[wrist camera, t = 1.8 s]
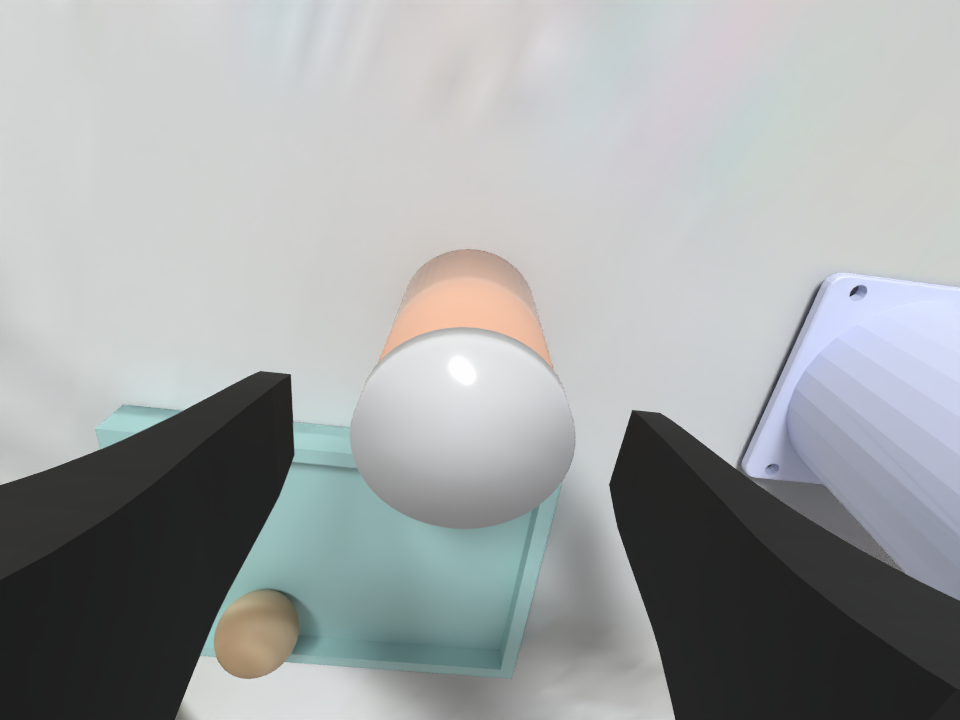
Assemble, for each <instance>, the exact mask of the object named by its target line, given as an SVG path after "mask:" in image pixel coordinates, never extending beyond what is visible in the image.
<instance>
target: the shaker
mask: <svg viewBox="0 0 960 720" xmlns="http://www.w3.org/2000/svg"><path fill="white" fill-rule="evenodd" d="M350 442H351V450H352V454H353V458H354V461H355V463H356V466H357V468H358V471H359V472H360V474H361V476H362V478H363V479H364V481H365V482H366V483H367V485H368V486H369V487H370V489H371V490H372V491H373V492H374V493H375V494H376V495H377V496H378V497H379V498H380V499H381V500H383V501H384V502H385V503H386V504H388V505H389V506H390V507H392V508H393V509H395V510H397V511H398V512H400V513H402V514H404V515H406V516H408V517H410V518H412V519H415V520H417V521H420V522H423V523H426V524H430V525H434V526H438V527H445V528H455V529H473V528H483V527H489V526H494V525H498V524H502V523H505V522H508V521H511V520H513V519H516V518H518V517H520V516H522V515H524V514H526V513H528V512H530V511H531V510H533V509H534V508H536V507H537V506H539V505H540V504H541V503H542V502H544V501H545V500H546V499H547V498H548V497H549V496H550V495H551V494H552V493H553V492H554V491H555V490H556V489H557V488H558V486H559V485H560V483H561V482H562V481H563V479H564V477H565V475H566V473H567V472H568V470H569V467H570V464H571V462H572V459H573V455H574V449H575V427H574V420H573V417H572V414H571V410H570V407H569V404H568V400H567V397H566V394H565V391H564V388H563V386H562V384H561V382H560V380H559V378H558V376H557V375H556V373H555V372H554V369H553V365H552V362H551V358H550V355H549V351H548V348H547V344H546V341H545V337H544V334H543V330H542V327H541V323H540V320H539V316H538V313H537V309H536V306H535V302H534V299H533V296H532V292H531V290H530V287H529V285H528V283H527V282H526V280H525V279H524V277H523V276H522V274H521V273H520V272H519V271H518V270H517V269H516V268H515V267H514V266H513V265H512V264H510V263H509V262H507V261H506V260H504V259H503V258H501V257H499V256H497V255H495V254H492V253H489V252H485V251H480V250H470V249H466V250H456V251H451V252H448V253H445V254H442V255H440V256H438V257H436V258H434V259H432V260H430V261H429V262H428V263H426V264H425V265H424V266H423V267H422V268H420V269H419V270H418V272H417V273H416V274H415V275H414V276H413V278H412V280H411V281H410V283H409V285H408V287H407V289H406V292H405V294H404V297H403V299H402V302H401V305H400V307H399V310H398V312H397V315H396V318H395V320H394V323H393V325H392V328H391V331H390V333H389V336H388V338H387V341H386V344H385V346H384V349H383V351H382V354H381V357H380V359H379V362H378V364H377V365H376V366H375V368H374V369H373V371H372V372H371V374H370V375H369V377H368V378H367V381H366V383H365V385H364V388H363V390H362V392H361V395H360V397H359V400H358V402H357V405H356V407H355V410H354V413H353V417H352V421H351V429H350Z"/></svg>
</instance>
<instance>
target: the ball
mask: <svg viewBox="0 0 960 720" xmlns="http://www.w3.org/2000/svg"><path fill="white" fill-rule="evenodd" d="M299 627H300V625H299V616H298V613H297V610H296V608H295V606H294V604H293V603H292V602H291V600H290V599H289V598H288V597H286V596H285V595H284V594H282V593H280V592H277V591H274V590H268V589H263V590H255V591H252V592H249V593H246V594H245V595H243V596H241V597H239V598H238V599H237V600H235V601H234V602H233V603H232V604H231V605H230V606H229V607H228V608H227V609H226V610H225V612H224V613H223V615H222V616H221V618H220V620H219V622H218V624H217V627H216V630H215V635H214V650H215V654H216V657H217V660H218V662H219V663H220V665H221V666H222V667H223V668H224V669H225V670H226V671H227V672H228V673H230V674H232V675H234V676H236V677H239V678H245V679H251V678H258V677H261V676H264V675H267V674H269V673H271V672H273V671H274V670H276V669H277V668H278V667H280V666H281V665H282V664H283V663H284V662H285V661H286V659H287V658H288V657H289V656H290V654H291V653H292V651H293V649H294V647H295V645H296V642H297V639H298V635H299Z"/></svg>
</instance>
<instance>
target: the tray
mask: <svg viewBox="0 0 960 720" xmlns="http://www.w3.org/2000/svg"><path fill="white" fill-rule="evenodd" d="M180 412H182V411H179V410H170V409H160V408H150V407H140V406H130V405H122V406H121V407H120V408H119V409H118V410H116V411H115V412H114V413H113V414H112V415H110V416H109V417H108V418H107V419H106V420H105V421H103V422H102V423H101V424H100V425H99V426H97V427H96V428H95V430H96V434H97V438H98V442H99V446H100V449H103V448H105V447H107V446H110V445H112V444H114V443H117V442H119V441H121V440H124V439H126V438H128V437H130V436H132V435H134V434H136V433H138V432H140V431H143V430H145V429H147V428H149V427H151V426H153V425H155V424H157V423H159V422H161V421H164V420H166V419H168V418H170V417H172V416H174V415H176V414H178V413H180ZM350 429H351V428H347V427H337V426H327V425H317V424H307V423H297V422H293V432H294V453H295V455H294V458H293V461H292V463H291V466H290V469H289V472H288V475H287V478H286V480H285V483H284V485H283V488H282V491H281V493H280V496H279V498H278V500H277V502H276V504H275V506H274V508H273V509H272V511H271V513H270V515H269V517H268V519H267V521H266V523H265V525H264V527H263V528H262V530H261V532H260V534H259V536H258V538H257V540H256V541H255V543H254V545H253V547H252V549H251V551H250V553H249V554H248V556H247V558H246V560H245V562H244V564H243V566H242V567H241V569H240V571H239V573H238V575H237V577H236V579H235V580H234V582H233V584H232V586H231V588H230V590H229V592H228V593H227V596H226V598H225V600H224V602H223V604H222V606H221V608H220V610H219V612H218V614H217V616H216V618H215V621H214V623H213V626H212V628H211V630H210V633H209V635H208V638H207V640H206V642H205V645H204V647H203V650H202V652H201V655H200V656H209V657H216V654H215V650H214V635H215V630H216V627H217V624H218V622H219V620H220V618H221V616H222V615H223V613H224V612H225V610H226V609H227V608H228V607H229V606H230V605H231V604H232V603H233V602H234V601H235V600H237V599H238V598H239V597H241V596H243V595H245V594H246V593H249V592H252V591H255V590H263V589H268V590H274V591H277V592H280V593H282V594H284V595H285V596H286V597H288V598H289V599H290V600H291V602H292V603H293V604H294V606H295V608H296V610H297V613H298V616H299V625H300V627H299V635H298V639H297V642H296V645H295V647H294V649H293V651H292V653H291V654H290V656H289V657H288V658H287V659H286V661H285V662H291V663H304V664H318V665H332V666H345V667H359V668H372V669H386V670H400V671H413V672H427V673H440V674H454V675H468V676H481V677H495V678H509V679H512V676H513V672H514V668H515V664H516V660H517V656H518V652H519V648H520V644H521V640H522V636H523V633H524V629H525V625H526V621H527V617H528V613H529V609H530V605H531V601H532V597H533V593H534V590H535V586H536V582H537V578H538V574H539V570H540V566H541V562H542V558H543V554H544V550H545V547H546V543H547V539H548V535H549V531H550V527H551V523H552V519H553V515H554V511H555V507H556V503H557V500H558V496H559V492H560V488H561V484H562V482H561V483H560V485H559V486H558V488H557V489H556V490H555V491H554V492H553V493H552V494H551V495H550V496H549V497H548V498H547V499H546V500H545V501H544V502H542V503H541V504H540V505H539V506H537V507H536V508H534V509H533V510H531V511H530V512H528V513H526V514H524V515H522V516H520V517H518V518H516V519H513V520H511V521H508V522H505V523H502V524H498V525H494V526H489V527H483V528H473V529H455V528H445V527H438V526H434V525H430V524H426V523H423V522H420V521H417V520H415V519H412V518H410V517H408V516H406V515H404V514H402V513H400V512H398V511H397V510H395V509H393V508H392V507H390V506H389V505H388V504H386V503H385V502H384V501H383V500H381V499H380V498H379V497H378V496H377V495H376V494H375V493H374V492H373V491H372V490H371V489H370V487H369V486H368V485H367V483H366V482H365V481H364V479H363V478H362V476H361V474H360V472H359V471H358V468H357V466H356V463H355V461H354V458H353V454H352V450H351V442H350Z"/></svg>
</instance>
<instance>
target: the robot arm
mask: <svg viewBox="0 0 960 720" xmlns="http://www.w3.org/2000/svg"><path fill="white" fill-rule="evenodd" d="M858 285H859V288H858V291H857V292H856V293H855V294H854V295H852V296H850V292H851V290H852V289H853V288H854V287H856V286H858ZM294 455H295V453H294V432H293V412H292V391H291V374H282V373H273V372H263V371H260V372H258V373H255V374H253V375H251V376H249V377H247V378H245V379H243V380H241V381H239V382H237V383H235V384H233V385H231V386H229V387H227V388H225V389H224V390H222V391H220V392H218V393H216V394H214V395H212V396H210V397H209V398H207V399H205V400H203V401H201V402H199V403H197V404H195V405H193V406H191V407H190V408H188V409H186V410H184V411H182V412H180V413H178V414H176V415H174V416H172V417H170V418H168V419H166V420H164V421H161V422H159V423H157V424H155V425H153V426H151V427H149V428H147V429H145V430H143V431H140V432H138V433H136V434H134V435H132V436H130V437H128V438H126V439H124V440H121V441H119V442H117V443H114V444H112V445H110V446H107V447H105V448H103V449H100V450H98V451H95V452H93V453H91V454H88V455H85V456H83V457H80V458H78V459H75V460H72V461H70V462H67V463H65V464H62V465H59V466H57V467H54V468H51V469H49V470H46V471H43V472H40V473H37V474H34V475H31V476H28V477H25V478H22V479H19V480H16V481H12V482H9V483H6V484H3V485H0V720H175V717H176V715H177V712H178V710H179V707H180V705H181V702H182V700H183V697H184V694H185V692H186V689H187V687H188V684H189V682H190V679H191V677H192V674H193V671H194V669H195V667H196V664H197V662H198V659H199V657H200V655H201V652H202V650H203V647H204V645H205V642H206V640H207V638H208V635H209V633H210V630H211V628H212V626H213V623H214V621H215V618H216V616H217V614H218V612H219V610H220V608H221V606H222V604H223V602H224V600H225V598H226V596H227V593H228V592H229V590H230V588H231V586H232V584H233V582H234V580H235V579H236V577H237V575H238V573H239V571H240V569H241V567H242V566H243V564H244V562H245V560H246V558H247V556H248V554H249V553H250V551H251V549H252V547H253V545H254V543H255V541H256V540H257V538H258V536H259V534H260V532H261V530H262V528H263V527H264V525H265V523H266V521H267V519H268V517H269V515H270V513H271V511H272V509H273V508H274V506H275V504H276V502H277V500H278V498H279V496H280V493H281V491H282V488H283V485H284V483H285V480H286V478H287V475H288V472H289V469H290V466H291V463H292V461H293V458H294ZM770 464H773V465H772V466H770V467H768V468H766V467H767V466H768V465H770ZM742 468H743V470H744V471H745V472H746V474H747V475H749V476H750V477H754V478H763V479H773V480H783V481H793V482H803V483H813V484H823V485H825V486H826V487H827V488H828V489H829V490H830V491H831V492H832V493H833V495H834V496H835V497H836V498H837V499H838V500H839V501H840V502H841V503H842V504H843V506H844V507H845V508H846V509H847V510H848V511H849V512H850V513H851V514H852V515H853V517H854V518H855V519H856V520H857V521H858V522H859V523H860V524H861V525H862V526H863V528H864V529H865V530H866V531H867V532H868V533H869V534H870V535H871V536H872V537H873V538H874V540H875V541H876V542H877V543H878V544H879V545H880V546H881V547H882V548H883V549H884V551H885V552H886V553H887V554H888V555H889V556H890V557H891V558H892V559H893V560H894V562H895V563H896V564H897V565H898V566H899V567H900V568H901V569H902V570H903V571H904V573H903V572H901V571H899V570H897V569H895V568H893V567H891V566H889V565H887V564H885V563H884V562H882V561H880V560H878V559H876V558H874V557H872V556H870V555H868V554H867V553H865V552H863V551H861V550H859V549H858V548H856V547H854V546H852V545H851V544H849V543H847V542H845V541H844V540H842V539H840V538H839V537H837V536H835V535H834V534H832V533H830V532H829V531H827V530H825V529H824V528H822V527H820V526H819V525H817V524H815V523H814V522H812V521H810V520H809V519H807V518H806V517H804V516H803V515H801V514H799V513H798V512H796V511H795V510H793V509H792V508H790V507H789V506H787V505H786V504H784V503H783V502H781V501H780V500H778V499H777V498H776V497H774V496H773V495H771V494H770V493H768V492H767V491H765V490H764V489H763V488H761V487H760V486H758V485H757V484H755V483H754V482H753V481H751V480H750V479H749V478H747V477H746V476H744V475H743V474H742V473H740V472H739V471H738V470H736V469H735V468H734V467H732V466H731V465H730V464H728V463H727V462H726V461H724V460H723V459H722V458H721V457H719V456H718V455H717V454H715V453H714V452H713V451H711V450H710V449H709V448H708V447H706V446H705V445H704V444H702V443H701V442H700V441H698V440H697V439H696V438H695V437H693V436H692V435H691V434H689V433H688V432H687V431H685V430H684V429H683V428H681V427H680V426H679V425H677V424H676V423H675V422H673V421H672V420H670V419H669V418H667V417H666V416H664V415H662V414H661V413H655V412H646V411H636V410H632V413H631V416H630V419H629V422H628V426H627V429H626V432H625V435H624V439H623V442H622V445H621V448H620V451H619V455H618V458H617V461H616V464H615V468H614V471H613V474H612V477H611V480H610V484H609V486H610V492H611V497H612V503H613V508H614V513H615V518H616V522H617V527H618V530H619V533H620V536H621V539H622V542H623V545H624V548H625V551H626V554H627V557H628V560H629V562H630V565H631V568H632V571H633V574H634V577H635V580H636V582H637V585H638V588H639V591H640V594H641V597H642V599H643V602H644V605H645V608H646V611H647V614H648V617H649V619H650V622H651V625H652V628H653V632H654V635H655V638H656V641H657V645H658V648H659V652H660V656H661V660H662V664H663V668H664V673H665V677H666V681H667V685H668V689H669V693H670V697H671V702H672V706H673V711H674V715H675V720H960V287H953V286H945V285H937V284H930V283H922V282H914V281H906V280H898V279H890V278H882V277H875V276H867V275H859V274H851V273H835V274H833V275H831V276H829V277H828V278H827V279H826V280H825V281H824V282H823V284H822V285H821V287H820V290H819V292H818V294H817V296H816V298H815V301H814V303H813V305H812V307H811V310H810V312H809V314H808V316H807V318H806V321H805V323H804V325H803V327H802V329H801V332H800V334H799V336H798V338H797V341H796V343H795V345H794V347H793V349H792V352H791V354H790V356H789V358H788V361H787V363H786V365H785V367H784V369H783V372H782V374H781V376H780V378H779V380H778V383H777V385H776V387H775V389H774V392H773V394H772V396H771V398H770V400H769V403H768V405H767V407H766V409H765V412H764V414H763V416H762V418H761V420H760V423H759V425H758V427H757V429H756V432H755V434H754V436H753V438H752V440H751V443H750V445H749V447H748V449H747V451H746V454H745V456H744V458H743V460H742Z"/></svg>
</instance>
